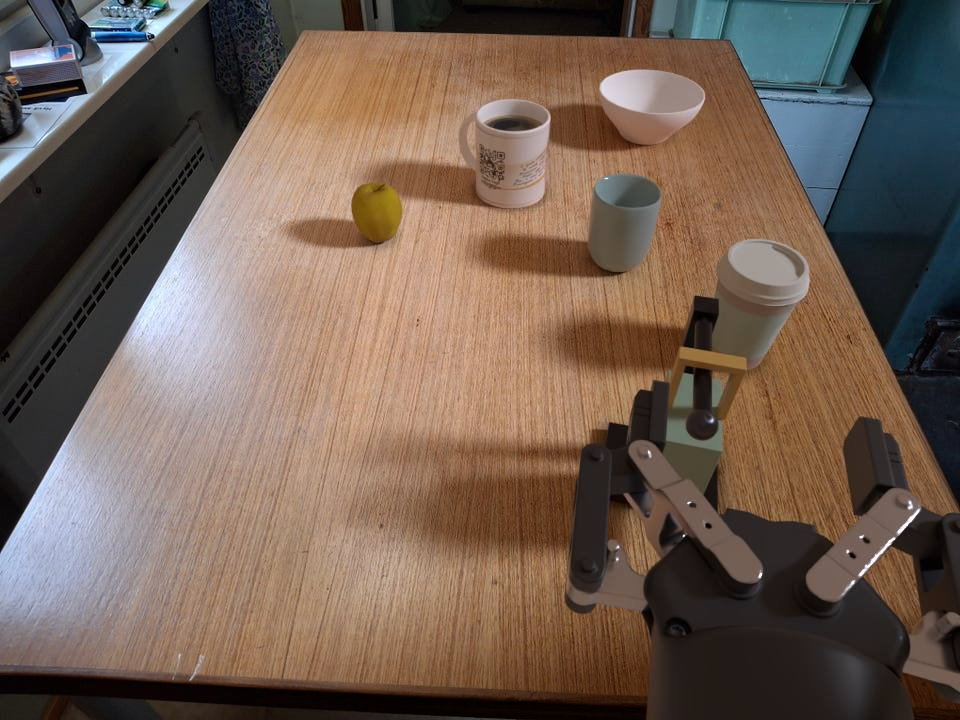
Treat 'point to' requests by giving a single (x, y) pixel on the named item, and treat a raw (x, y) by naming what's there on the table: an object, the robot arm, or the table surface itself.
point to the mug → (508, 152)
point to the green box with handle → (680, 447)
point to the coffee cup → (756, 296)
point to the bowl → (649, 103)
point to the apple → (376, 211)
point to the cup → (622, 220)
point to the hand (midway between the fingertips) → (755, 410)
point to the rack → (701, 418)
